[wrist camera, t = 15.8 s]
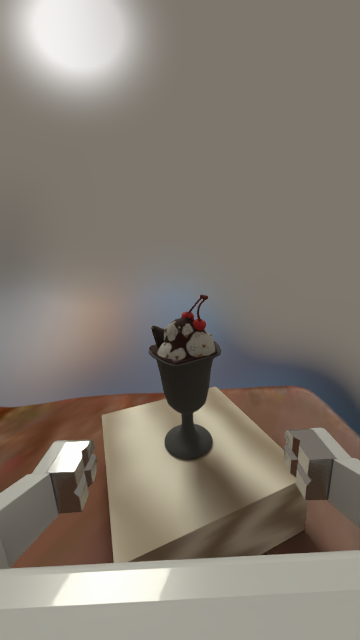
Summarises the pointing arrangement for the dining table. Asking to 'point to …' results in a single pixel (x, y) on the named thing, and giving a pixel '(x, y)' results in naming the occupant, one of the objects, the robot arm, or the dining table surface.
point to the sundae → (185, 379)
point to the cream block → (196, 486)
